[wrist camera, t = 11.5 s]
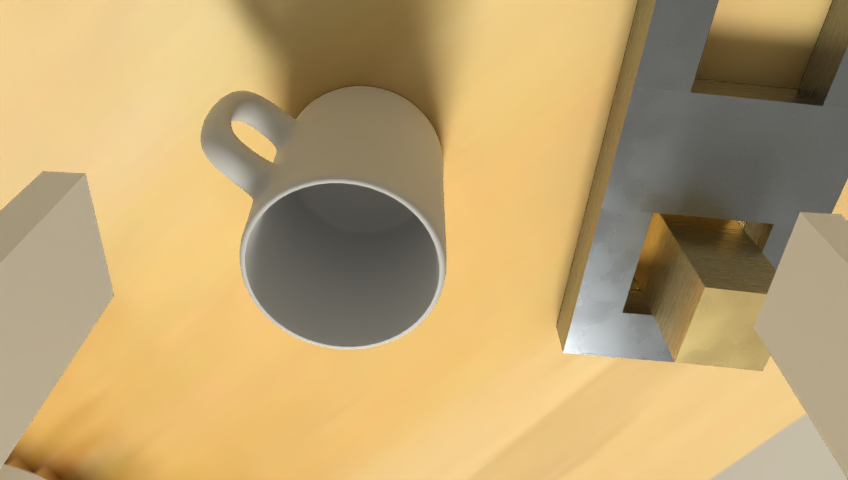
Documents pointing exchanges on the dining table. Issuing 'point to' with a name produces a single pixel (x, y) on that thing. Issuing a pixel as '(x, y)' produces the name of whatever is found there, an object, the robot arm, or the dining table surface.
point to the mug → (338, 213)
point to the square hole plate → (698, 165)
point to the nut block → (705, 289)
